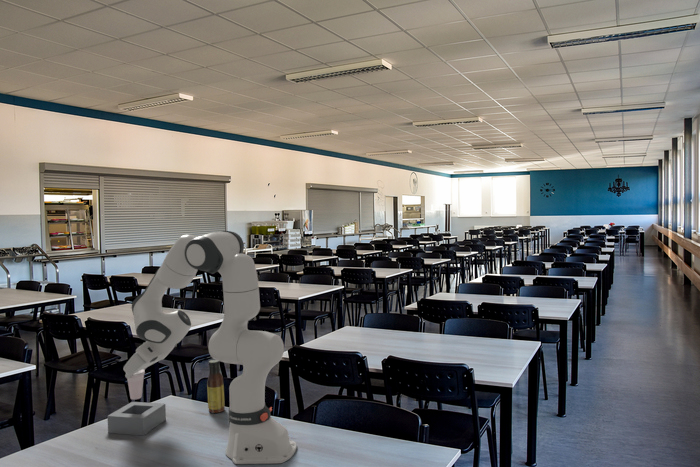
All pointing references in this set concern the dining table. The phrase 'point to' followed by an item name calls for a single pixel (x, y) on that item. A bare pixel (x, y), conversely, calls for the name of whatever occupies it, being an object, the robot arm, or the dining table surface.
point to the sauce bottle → (215, 388)
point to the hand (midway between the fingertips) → (133, 373)
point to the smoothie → (136, 385)
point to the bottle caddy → (136, 418)
